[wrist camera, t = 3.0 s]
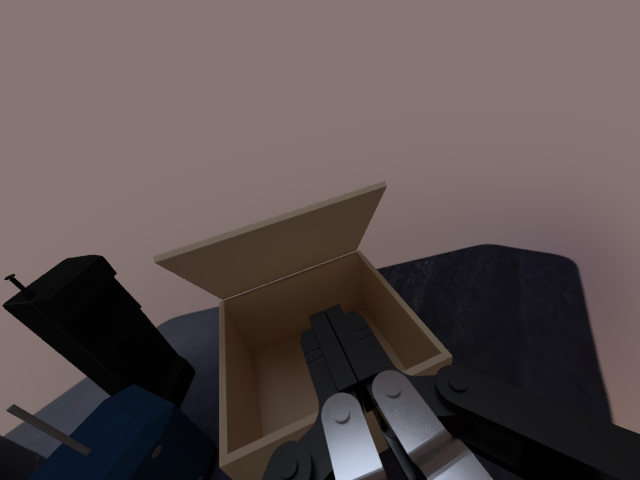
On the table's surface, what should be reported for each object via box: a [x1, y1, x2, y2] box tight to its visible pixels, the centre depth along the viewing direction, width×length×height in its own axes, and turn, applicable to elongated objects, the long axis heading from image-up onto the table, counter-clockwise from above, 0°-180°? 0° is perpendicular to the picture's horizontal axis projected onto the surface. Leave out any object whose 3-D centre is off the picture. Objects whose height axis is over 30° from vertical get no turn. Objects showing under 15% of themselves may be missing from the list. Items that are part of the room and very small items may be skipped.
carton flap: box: [154, 182, 387, 300], centre depth 28 cm, size 16×19×1 cm
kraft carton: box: [219, 250, 452, 480], centre depth 31 cm, size 18×20×12 cm
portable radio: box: [3, 255, 195, 408], centre depth 31 cm, size 8×6×25 cm
